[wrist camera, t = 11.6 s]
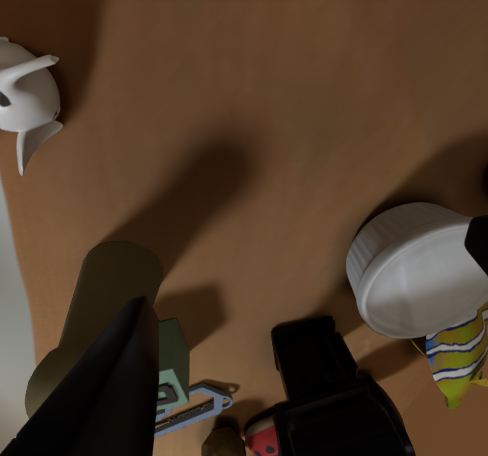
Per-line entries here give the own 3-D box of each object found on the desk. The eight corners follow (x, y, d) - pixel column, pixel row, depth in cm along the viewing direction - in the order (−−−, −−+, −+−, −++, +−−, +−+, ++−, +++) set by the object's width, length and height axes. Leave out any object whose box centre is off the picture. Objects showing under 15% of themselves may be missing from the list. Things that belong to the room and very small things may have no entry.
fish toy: (390, 396, 33) (446, 344, 37) (493, 467, 24) (549, 389, 29) (371, 278, 29) (437, 237, 33) (488, 315, 20) (553, 252, 25)
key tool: (123, 412, 33) (148, 434, 35) (121, 420, 32) (147, 443, 34) (216, 372, 32) (236, 398, 34) (216, 380, 31) (237, 406, 33)
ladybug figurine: (321, 417, 39) (330, 448, 36) (257, 440, 41) (261, 471, 38) (300, 399, 35) (309, 433, 32) (232, 425, 37) (234, 459, 35)
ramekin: (307, 268, 25) (332, 314, 21) (405, 162, 21) (461, 191, 17) (386, 309, 30) (420, 354, 25) (479, 228, 26) (539, 264, 21)
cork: (145, 309, 25) (117, 459, 16) (71, 287, 23) (-13, 447, 14) (176, 257, 23) (163, 397, 14) (96, 228, 21) (16, 372, 11)
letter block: (139, 363, 29) (130, 419, 24) (120, 330, 26) (106, 386, 22) (189, 351, 29) (189, 405, 24) (176, 317, 26) (172, 371, 22)
